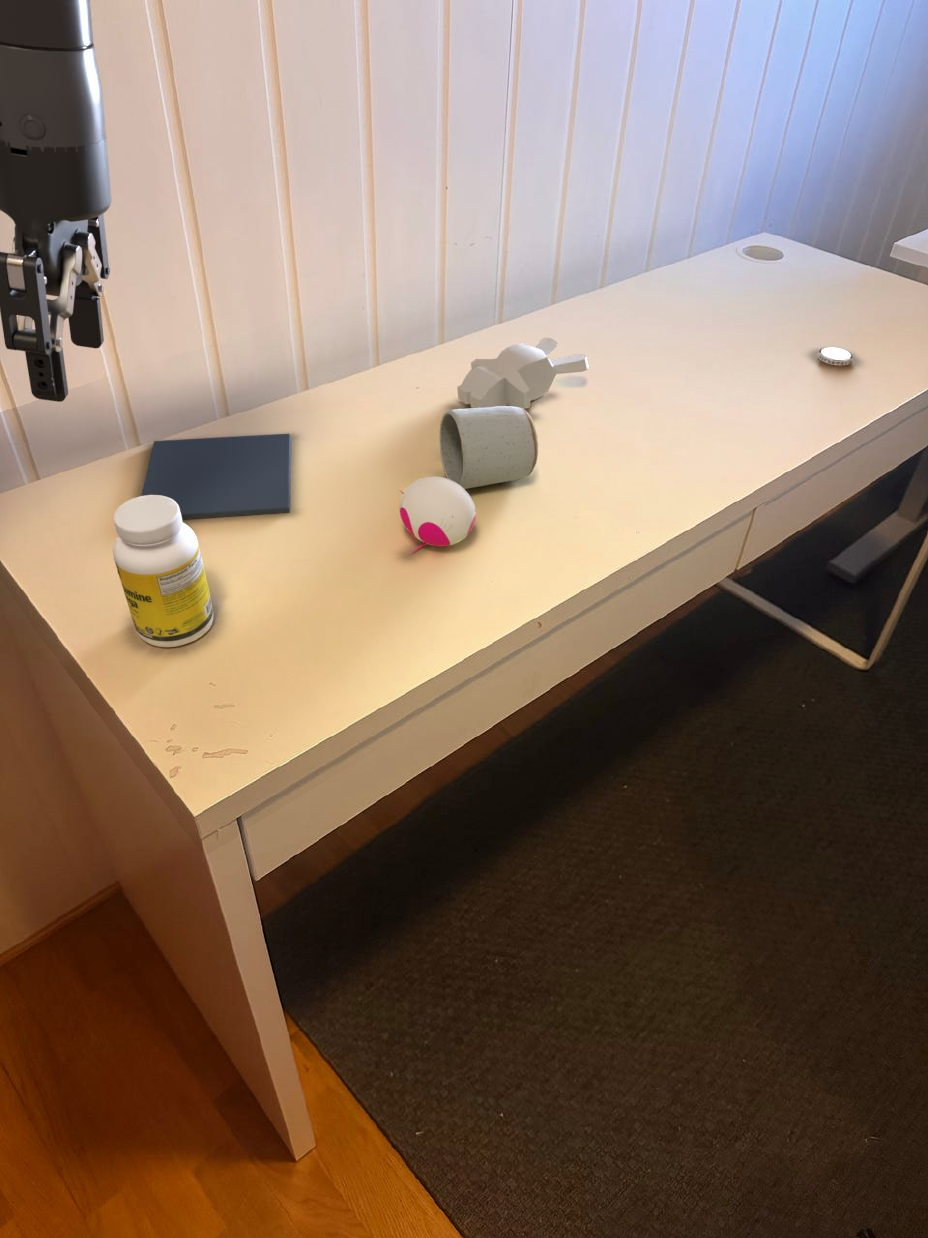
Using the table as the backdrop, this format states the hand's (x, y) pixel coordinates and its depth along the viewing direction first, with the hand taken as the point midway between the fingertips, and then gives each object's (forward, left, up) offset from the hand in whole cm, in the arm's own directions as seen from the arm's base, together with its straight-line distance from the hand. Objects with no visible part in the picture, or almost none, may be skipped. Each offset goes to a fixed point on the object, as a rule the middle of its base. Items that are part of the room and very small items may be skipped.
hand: (70, 370), depth 64 cm
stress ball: (+26, +2, -19) cm, 33 cm away
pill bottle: (+4, -7, -19) cm, 21 cm away
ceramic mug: (+32, +13, -19) cm, 40 cm away
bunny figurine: (+39, +29, -19) cm, 53 cm away
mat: (+6, +15, -19) cm, 25 cm away
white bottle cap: (+80, +34, -19) cm, 89 cm away
